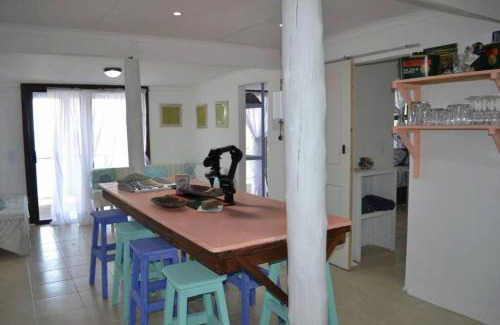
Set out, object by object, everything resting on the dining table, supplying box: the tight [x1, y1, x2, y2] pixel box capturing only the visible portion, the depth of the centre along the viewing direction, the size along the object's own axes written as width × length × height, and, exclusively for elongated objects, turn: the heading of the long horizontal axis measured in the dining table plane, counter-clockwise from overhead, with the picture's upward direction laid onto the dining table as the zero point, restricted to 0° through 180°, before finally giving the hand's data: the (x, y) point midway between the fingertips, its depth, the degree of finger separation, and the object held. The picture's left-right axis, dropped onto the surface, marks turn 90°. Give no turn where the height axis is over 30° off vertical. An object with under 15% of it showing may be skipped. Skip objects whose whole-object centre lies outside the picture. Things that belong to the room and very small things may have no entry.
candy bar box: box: [174, 173, 191, 196], centre depth 316 cm, size 11×5×16 cm, turn 84°
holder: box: [134, 182, 176, 194], centre depth 345 cm, size 45×18×3 cm, turn 120°
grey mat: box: [196, 205, 224, 213], centre depth 260 cm, size 16×16×1 cm
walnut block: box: [200, 198, 219, 210], centre depth 259 cm, size 5×5×10 cm
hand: (216, 188), depth 271 cm, fingers open, 9 cm apart
